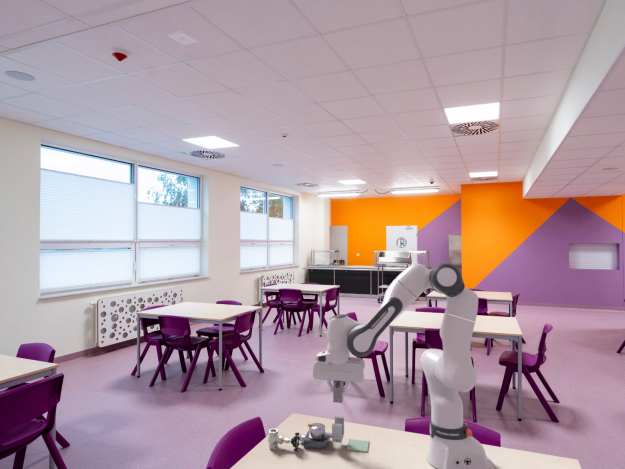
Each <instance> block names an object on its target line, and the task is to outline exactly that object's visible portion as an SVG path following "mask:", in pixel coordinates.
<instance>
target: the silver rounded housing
mask: <svg viewBox="0 0 625 469" xmlns="http://www.w3.org/2000/svg"><path fill="white" fill-rule="evenodd" d="M307 427H308V431H309V437H310V438H311V439H314V440H320V439H323V438H324V437H328V438H330V439H331V443H332V442H333V443H340V444H341V443H343V438H344V435H345V416H334V423H331V432H326V425H325V424H324V423H321V422H313V423H308V424H307Z"/></svg>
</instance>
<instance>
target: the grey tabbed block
mask: <svg viewBox="0 0 625 469" xmlns="http://www.w3.org/2000/svg"><path fill="white" fill-rule="evenodd" d="M332 386H333V393H332V394H333V397H332V398H333V399H332V401H333V403H338V404H343V401H344V393H343V392H342V391H343V390H342V388H343V387H344V381H332Z"/></svg>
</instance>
